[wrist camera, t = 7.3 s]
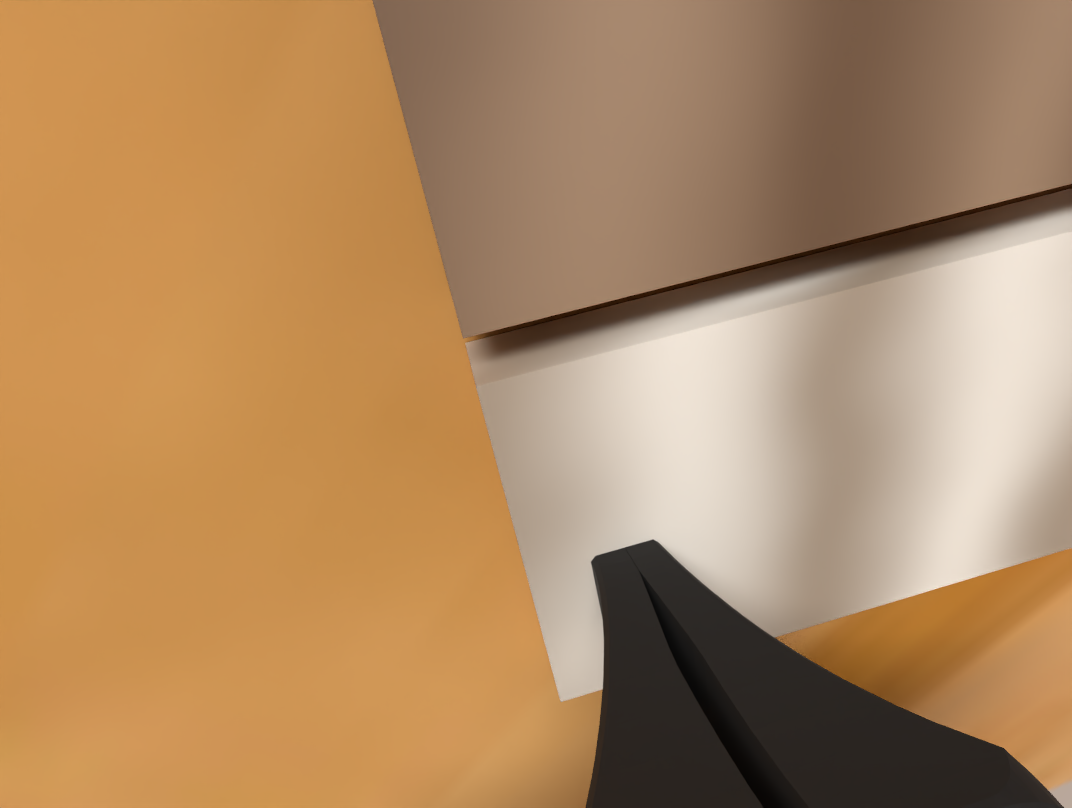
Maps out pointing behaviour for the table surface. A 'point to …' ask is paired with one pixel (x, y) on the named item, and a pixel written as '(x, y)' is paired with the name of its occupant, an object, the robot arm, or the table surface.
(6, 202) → the table surface
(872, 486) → the ash plank
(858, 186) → the walnut planks
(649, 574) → the robot arm
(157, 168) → the table surface
